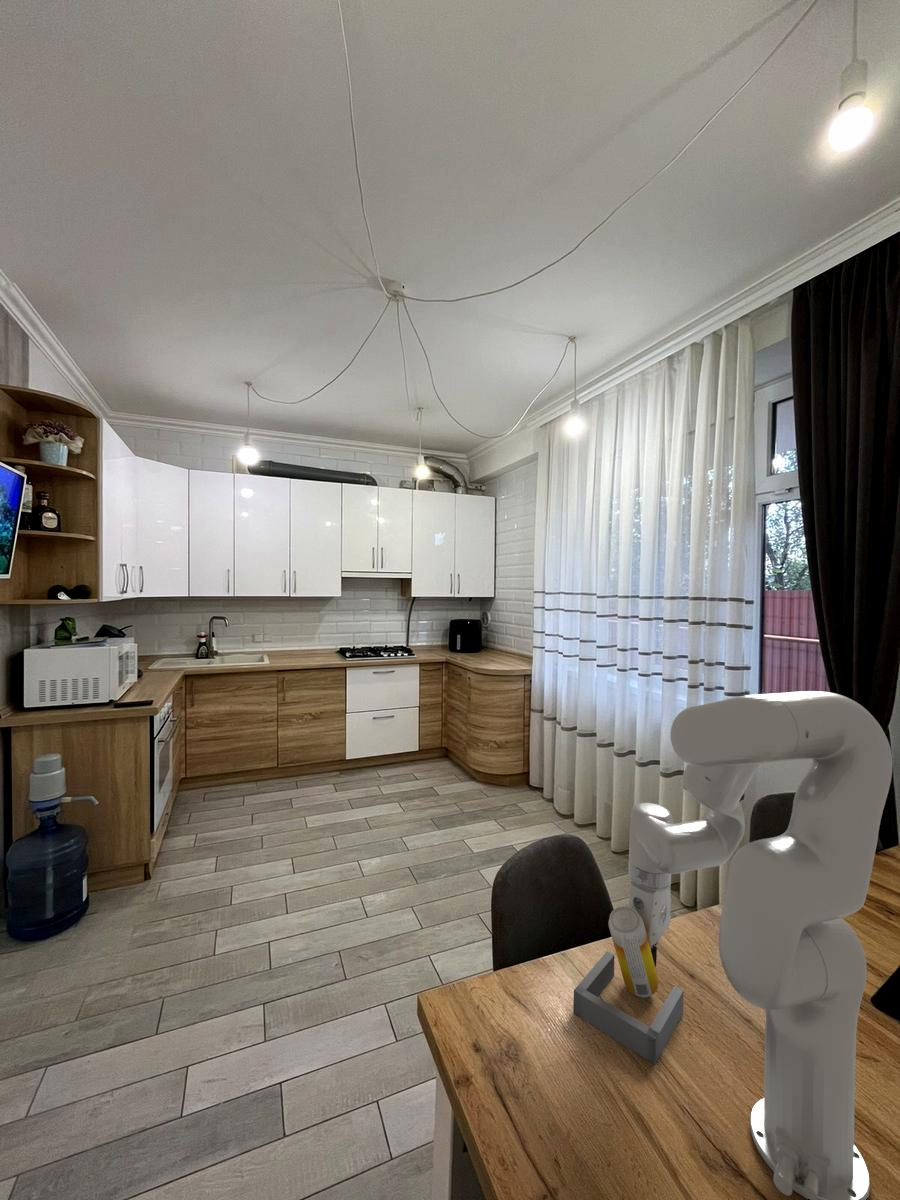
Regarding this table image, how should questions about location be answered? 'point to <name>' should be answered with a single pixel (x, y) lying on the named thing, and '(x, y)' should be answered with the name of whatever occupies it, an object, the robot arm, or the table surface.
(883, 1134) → the table surface
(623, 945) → the beer can
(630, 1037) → the corral
